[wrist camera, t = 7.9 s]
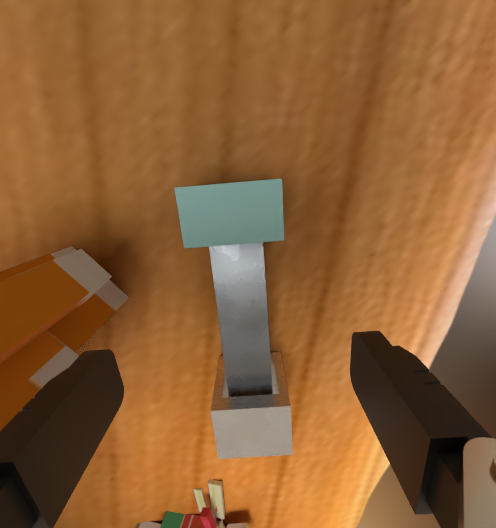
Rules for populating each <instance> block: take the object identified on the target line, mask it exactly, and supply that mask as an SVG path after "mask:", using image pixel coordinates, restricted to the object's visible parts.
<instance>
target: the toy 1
mask: <svg viewBox="0 0 496 528" xmlns="http://www.w3.org/2000/svg"><path fill="white" fill-rule="evenodd" d="M111 277H112V276H111V275H110V274H109V273H108V272H106V271H105V270H104V269H103V268H102V267H101V266H100V265H99V264H98V263H96V262H95V261H94V260H93V259H92V258H91V257H90V256H89V255H88V254H87V253H85V252H84V251H83V250H82V249H79V250H76V249H75V248H74V247H73V246H70V247H67V248H65V249H62V250H59V251H56V252H54V253H51V254H48V255H46V256H43V257H40V258H37V259H35V260H32V261H29V262H27V263H24V264H21V265H18V266H16V267H13V268H10V269H8V270H5V271H2V272H0V431H1V430H2V429H3V428H4V427H5V426H6V425H7V424H8V423H9V422H10V421H11V419H12V418H13V417H14V416H15V415H16V414H17V413H18V412H20V411H22V410H23V407H24V406H25V405H26V404H27V403H28V402H29V401H30V400H31V399H32V398H35V395H36V394H37V393H38V392H39V391H40V390H41V389H42V387H43V386H44V385H45V384H46V383H47V382H48V381H49V380H51V379H52V378H54V377H55V376H57V375H58V374H59V373H61V372H62V371H64V370H65V369H67V368H69V367H70V365H71V364H72V363H73V362H74V361H75V360H76V359H77V358H78V357H79V355H77V354H76V353H75V351H76V350H77V349H78V348H79V347H80V346H81V345H82V344H83V343H84V342H85V341H86V340H87V339H88V338H89V337H90V336H91V335H92V334H93V333H94V332H95V331H96V330H97V329H98V328H99V327H100V326H101V325H102V324H103V323H104V322H105V321H106V320H107V319H108V318H109V317H110V316H111V315H112V314H113V313H114V312H115V311H116V310H118V309H119V308H120V307H121V306H122V305H123V304H124V303H125V302H126V301H127V300H128V299H129V297H128V296H127V295H126V294H125V293H124V292H123V291H122V290H120V289H119V288H118V287H117V286H116V285H115V284H114V283H113V282H112V281H110V280H109V279H110V278H111Z"/></svg>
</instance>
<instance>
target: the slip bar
mask: <svg viewBox="0 0 496 528" xmlns="http://www.w3.org/2000/svg"><path fill="white" fill-rule="evenodd" d="M209 250H210V258H211V265H212V273H213V280H214V288H215V296H216V303H217V311H218V319H219V326H220V334H221V341H222V349H223V357H224V364H225V372H226V380H227V387H228V395H229V397H239V396H255V395H270V394H273V389H272V374H271V358H270V343H269V327H268V312H267V296H266V281H265V265H264V250H263V242H258V243H246V244H233V245H221V246H209Z"/></svg>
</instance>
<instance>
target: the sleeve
mask: <svg viewBox="0 0 496 528" xmlns="http://www.w3.org/2000/svg"><path fill="white" fill-rule="evenodd" d="M270 358H271V374H272V389H273V394H270V395H255V396H239V397H229V395H228V387H227V380H226V372H225V364H224V357H223V356H219V362H218V369H217V375H216V381H215V387H214V393H213V399H212V405H211V417H212V423H213V429H214V435H215V441H216V448H217V454H218V459H225V458H242V457H259V456H276V455H293V452H292V426H291V405H290V400H289V394H288V389H287V384H286V378H285V373H284V368H283V363H282V357H281V352H270Z"/></svg>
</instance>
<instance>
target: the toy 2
mask: <svg viewBox="0 0 496 528" xmlns="http://www.w3.org/2000/svg"><path fill="white" fill-rule="evenodd" d="M208 484H209V492H210V500H211V508H212V512H211V510H210V508H208V507H207V504H206V500H205V497H204V493H203V489H202V488H195V489H194V493H195V497H196V500H197V504H198V507H199V511H200V516H199V515H191V514H180V513H174V512H168V511H167V512H166V514H165V517H164V519H163V522H162V524H159V523H155V522H151V521H148V522H142V523H139V524H137V525H136V528H249V525H248V523H236V524H228V525H227V526H224V523H223V520H222V519H224V518H225V507H224V498H223V488H222V481H217V480H209V483H208ZM218 518H220V519H221V521H219V519H218Z"/></svg>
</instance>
